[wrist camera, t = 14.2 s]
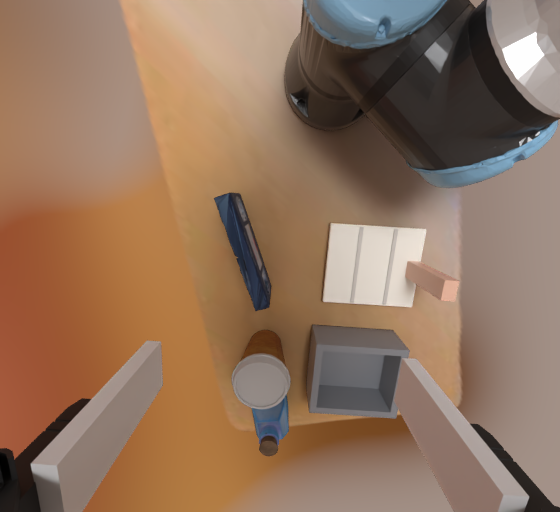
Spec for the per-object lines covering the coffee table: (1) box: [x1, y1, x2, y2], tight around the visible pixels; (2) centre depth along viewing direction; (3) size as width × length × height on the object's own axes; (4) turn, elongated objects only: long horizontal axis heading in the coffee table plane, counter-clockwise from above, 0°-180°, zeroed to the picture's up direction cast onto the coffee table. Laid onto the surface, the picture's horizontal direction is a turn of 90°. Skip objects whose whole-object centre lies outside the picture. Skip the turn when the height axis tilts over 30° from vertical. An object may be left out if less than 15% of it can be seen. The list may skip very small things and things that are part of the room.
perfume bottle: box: [252, 395, 289, 456], centre depth 49 cm, size 6×6×12 cm
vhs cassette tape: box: [214, 193, 271, 311], centre depth 43 cm, size 18×3×10 cm, turn 16°
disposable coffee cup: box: [232, 330, 291, 409], centre depth 47 cm, size 10×10×12 cm
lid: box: [322, 223, 459, 307], centre depth 42 cm, size 15×17×13 cm
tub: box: [306, 325, 410, 418], centre depth 50 cm, size 14×16×7 cm
